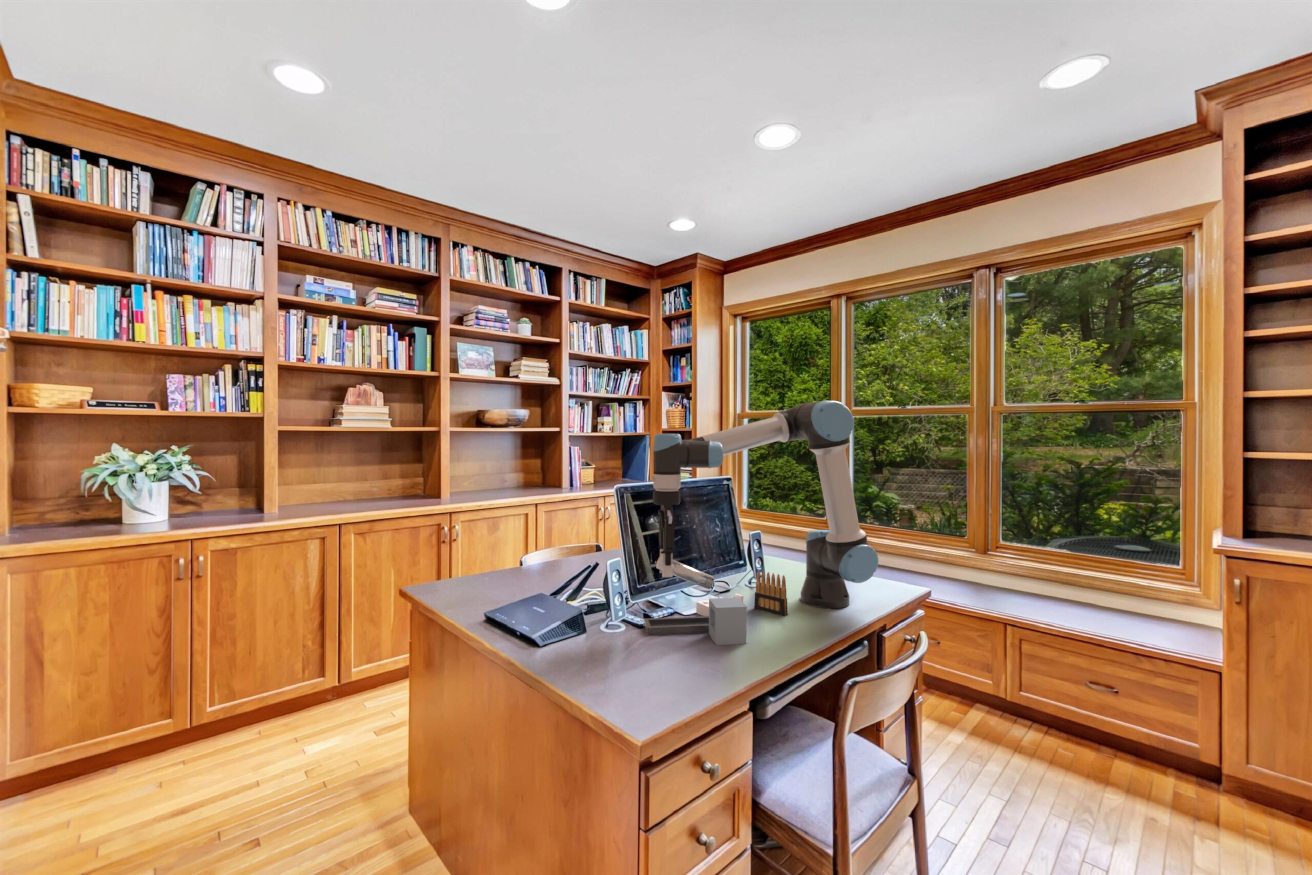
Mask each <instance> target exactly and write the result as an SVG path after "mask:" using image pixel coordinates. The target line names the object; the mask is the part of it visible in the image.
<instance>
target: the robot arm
mask: <svg viewBox="0 0 1312 875" xmlns="http://www.w3.org/2000/svg"><path fill="white" fill-rule="evenodd" d="M854 426H855V420H854V416H853V414H852V412H851V409H849V407H848V406H847V405H845V404H843V403H842V402H840V401H837V400H828V399H827V400H826V399H825V400H819V401H813V402H810V401H809V402H805V403H801V404H799V405H796V406H793V407H790V408H788V409H785V410H782V411H779V412H776V413H774V414H773V416H772V417H768V418H765V419H760V420H758V421H754V422H750V423H747V424H743V425H739V426H735V427H731V428H728V429H724V430H721V431H716V432H712V433H708V434H705V435H701V436H698V437H695V438H691V439H682V435H681V434H680V433H657V434H655V435H654V437H653V449H652V454H653V456H652V457H653V472H652V473H653V477H651V481H652V482H653V483H652V486H653V489H655V490H653V491H652V503H653V504H654V505H657V506H660V509H659V510H658V545H659V556H660V555H662V570H660V569H659V574H661V576H662V578H673V575H672V574H673V560H674V559H673V557H674V555H673V553H675V525H676V524H675V523H676V512H675V511H674V509H673V506H677V505H680V503H681V491H680V490H679V489H681V482H682V480H681V479H682V477H681V476H682V475H681V474H682V473H681V472H682V471H681V470H682V469H687V468H688V469H689V468H691V469H693V468H694V469H702V468H703V469H712V468H713V469H714V468H719V467H721V466H722V465H723V462H724V457H725V456H727V455H728V456H729V455H731V454H735V453H738V452H742V451H746V450H749V449H753V448H756V447H759V446H764V445H768V444H772V443H774V442H782V443H787V442H789V441H805V440H807V444H808V449H809V451H811V452H812V453H814V455H815V458H816V465H817V468H818V474H819V479H820V486H821V491H822V497H823V501H824V502H823V503H824V507H825V514H826V519H827V525H828V529H818V530H815V529H814V530H809V531H808V532H807V534H806V539H805V540H806V541H805V543H806V548H805V550H806V551H805V552H806V555H805V558H806V560H805V561H806V564H805V566H806V568H805V569H806V573H805V574H806V576H805V579H804V581H803V584H802V587H801V590H800V600H801V602H803V603H804V604H806V605H808V606H812V607H818V608H822V609H823V608H824V609H842V608H845V607H848V606H849V605H850V594H849V592H848V588H847V585H846V582H850V583H853V584H854V583H855V584H862V583H865V582H867V581H869V580H870V579H871V578H873V577H874V573H876V572H877V570H878V567H879V555H878V553H877V551H876V550H875V548H873V547H872V546H871V545H869V542H868V537H867V533H866V532H865V531H864V530H863V529H861V528H860V523H859V518H858V517H859V516H858V511H857V507H856V501H855V496H854V490H853V484H852V479H851V473H850V467H849V463H848V456H847V451H846V449H847V448H848V446H849V445H850V443H851V442H850V435H851V433H852V431H853V429H854ZM845 581H846V582H845Z"/></svg>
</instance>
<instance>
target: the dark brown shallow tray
mask: <svg viewBox="0 0 1312 875" xmlns="http://www.w3.org/2000/svg"><path fill="white" fill-rule="evenodd" d="M643 623H644V628H645V631H646V632H645V633H646V635H647V636H652V635H654V636H655V635H657V636H658V635H677V634H679V635H680V634H681V635H682V634H698V633H699V634H700V633H701V634H702V633H704V634H705V633H709V616H702V615H700V616H680V617H679V616H678V617H655V618H654V617H651V618H650V617H649V618H644V622H643Z"/></svg>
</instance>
